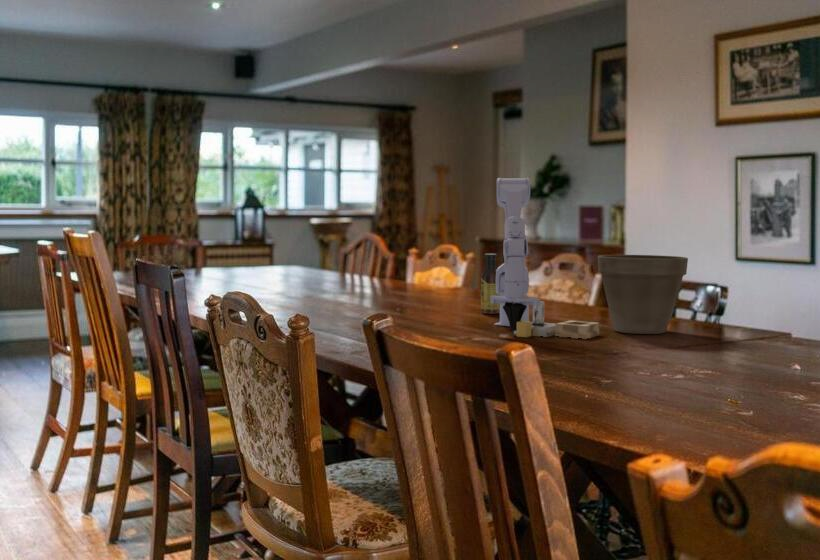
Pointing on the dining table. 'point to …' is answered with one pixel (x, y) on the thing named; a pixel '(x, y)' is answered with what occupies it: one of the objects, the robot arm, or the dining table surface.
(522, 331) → the yellow block
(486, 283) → the sauce bottle
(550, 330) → the socket block
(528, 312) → the robot arm
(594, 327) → the rack
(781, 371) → the dining table surface
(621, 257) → the plant pot
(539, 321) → the drill peg
